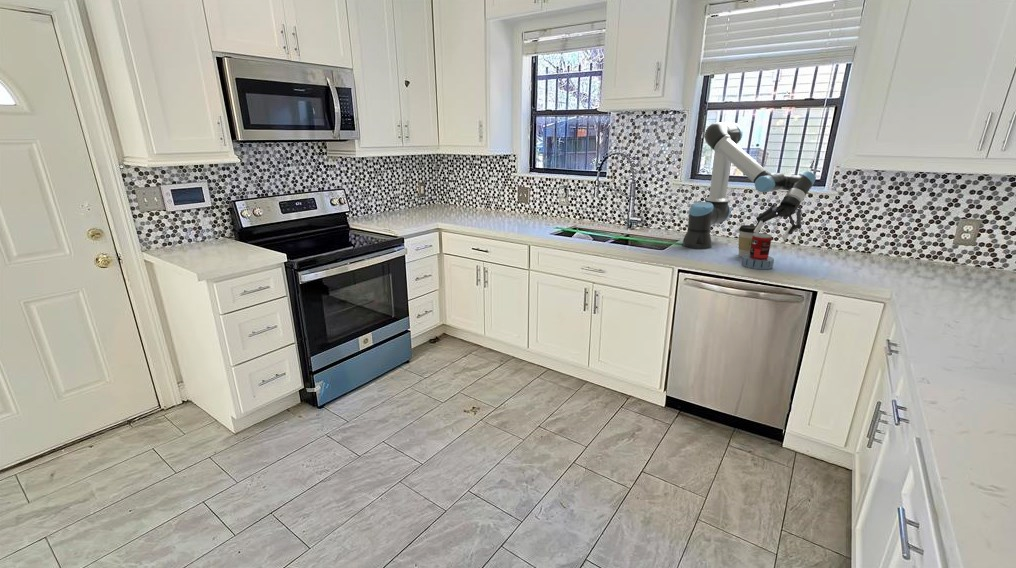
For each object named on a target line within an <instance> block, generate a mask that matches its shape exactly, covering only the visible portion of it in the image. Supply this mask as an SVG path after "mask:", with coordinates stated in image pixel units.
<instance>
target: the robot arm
mask: <svg viewBox="0 0 1016 568" xmlns="http://www.w3.org/2000/svg"><path fill="white" fill-rule="evenodd" d="M742 138H743V129H742V127H741V126H740V124H739V123H736V122H734V121H733V122H732V121H723V122H720V121H719V122H713V123H711V124H710V125H709V126H708V127H707V128H706V129H705V132H704V140H705V143H706V144H707V145H708V146H709V148H711V149H712V150H713V151H714V156H713V157H714V159H713V165H712V172H711V178H710V179H711V181H710V186H709V195H708V197H707V198H705V201H699V202H694V203H692V204H691V205H690V207H689V211H688V214H689V215H688V222H687V231H686V233H685V235H684V238H683V239H682V246H683V247H685V248H690V249H695V250H696V249H697V250H699V249H700V250H702V249H703V250H705V249H706V250H707V249H710V248H712V245H713V242H712V237H711V227H712V225H719V224H721V223H724V222H726V221H727V220H728V219H729V218H730V216H731V213H732V211H731V210H732V209H731V206H730V205H729V199H728V198H727V192H728V187H729V186H728V184H729V179H730V178H729V177H730V171H731V167H732V166H731V164H732V165H733V166H735V168H737V169H738V170H739V171H740V172H741V173H742V174H744V175H745V177H746V178H748V179H749V180H750V181H751V182H753V183H754V187H755V190H757V191H758V192H761V193H769V192H773V191H774V192H775V191H779V190H782V191H787V192H786V194H785V195H784V197H783V198H782V200H781V201H780V204H779V205H778V206H775V205H774V204H772V205H770V207H769V208H767V209H766V210H765V211H764V212H762V213H761V214H758V215H757V216H756V218H755V219H756V221H757V223H756V224H755V226H756V228H755V230H754V233H758V232H759V231H760V232H761V229H762V228H763V226H764V223H766V222H768V221H771V220H772V219H775V218H778V217H781V218H786V219H787V218H788V219H789V221H790V225H789V226H788V228H786V231H785V232H784V234H783V235H782V240H783V241H784V242H785V241H787V239H788V238H789V236H791V235H793V234H794V232H795V230H797V229H798V230H801V229H802V215H803V210H802V209H801V208H799V206H800V205H801V203H802V202H803V200H804V199H805V198H806V196H807V194H808V193H809V191H810V190H811V189H812V187H813V186H814V184H815V181H816V179H817V176H816V175H815V174H814V173H813V172H812V171H809V170H803V171H800V173H799V174H798V175H797V174H787V173H781V172H771V173H770V172H769V171H767V170H766V168H764V167H763V166H762V165H761V164H760V163H758V162H757V160H755V159H754V158H753V157H752V156H750V155H749V154H748V153H747V152H746V151H745V150H743V149H742V147H740V146H739V145H738V143H739V142H741V140H742ZM794 214H796V223H795V221H794V219H793V216H792V215H794ZM760 232H759V233H760Z"/></svg>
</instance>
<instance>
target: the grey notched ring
mask: <svg viewBox="0 0 1016 568" xmlns="http://www.w3.org/2000/svg"><path fill="white" fill-rule="evenodd" d="M774 263H775V258H774V257H772V256H770V255H768V258H767V259H765V260H760V259H754V258H751V257H750V254H746V255H743V257H742V260H741V265H742V266H743V267H745V268H747V269H752V270H753V269H754V270H767V271H768V270H771V269H773V266H774Z"/></svg>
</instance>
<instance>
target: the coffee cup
mask: <svg viewBox="0 0 1016 568" xmlns="http://www.w3.org/2000/svg"><path fill="white" fill-rule="evenodd" d="M755 228H756V225H750V224H744V225H740V227H739V228H738V231H739V232H738V256H739V257H742V258H743V255H746V254H750V248H751V242H752V236H753V234H754V230H755ZM758 233H761V230H760V231H759V232H758Z"/></svg>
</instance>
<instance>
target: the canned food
mask: <svg viewBox="0 0 1016 568" xmlns="http://www.w3.org/2000/svg"><path fill="white" fill-rule="evenodd" d="M772 238H773V236H772V234H769V233H763V232H759V233H754V234H753V236H752V242H751V248H750V257H751V258H754V259H760V260H765V259H767V258H768V256H770V249H771V244H772V243H771V242H772Z"/></svg>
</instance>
